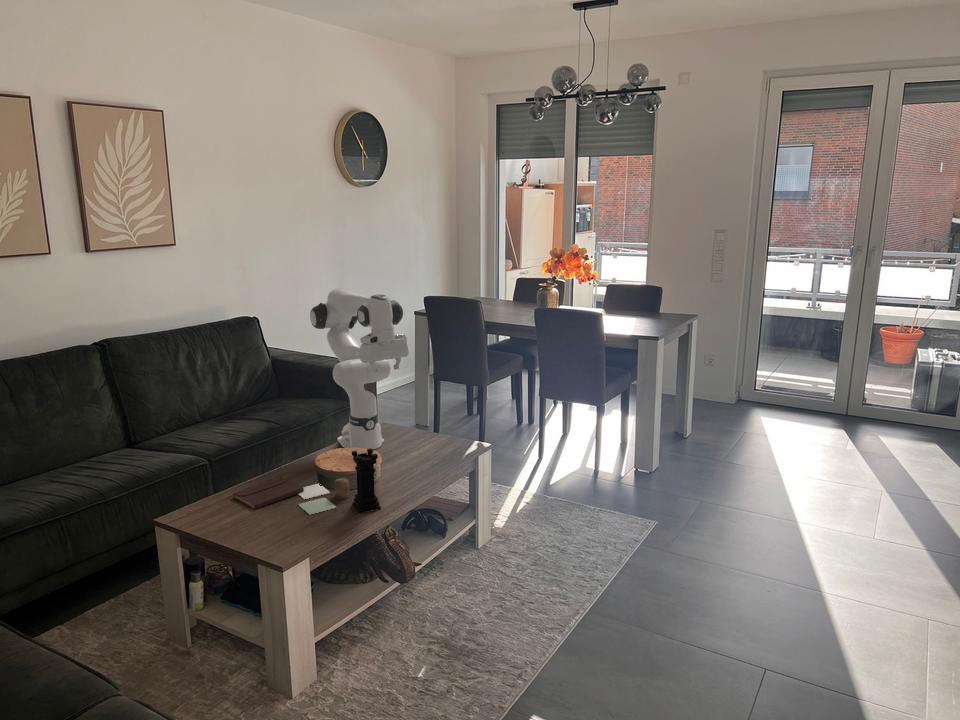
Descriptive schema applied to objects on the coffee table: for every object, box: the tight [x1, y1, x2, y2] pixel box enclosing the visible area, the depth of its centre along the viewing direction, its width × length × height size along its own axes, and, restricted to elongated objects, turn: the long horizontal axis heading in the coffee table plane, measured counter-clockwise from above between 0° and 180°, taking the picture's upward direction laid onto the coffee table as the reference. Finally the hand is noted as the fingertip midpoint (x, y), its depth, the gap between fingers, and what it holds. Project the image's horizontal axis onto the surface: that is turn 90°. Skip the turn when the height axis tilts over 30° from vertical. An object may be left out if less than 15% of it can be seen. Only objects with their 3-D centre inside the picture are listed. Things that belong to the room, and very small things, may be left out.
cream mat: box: [297, 483, 331, 501], centre depth 260 cm, size 10×10×1 cm
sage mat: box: [297, 497, 337, 516], centre depth 248 cm, size 10×10×1 cm
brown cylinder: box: [334, 477, 350, 500], centre depth 256 cm, size 5×5×6 cm
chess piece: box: [351, 448, 382, 514], centre depth 245 cm, size 8×8×20 cm
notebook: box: [233, 475, 304, 510], centre depth 257 cm, size 15×20×2 cm
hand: (386, 371), depth 279 cm, fingers open, 8 cm apart
